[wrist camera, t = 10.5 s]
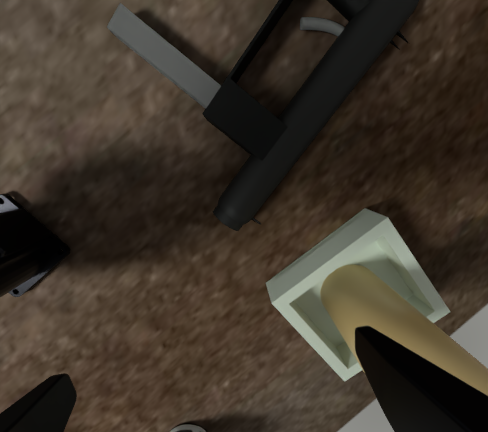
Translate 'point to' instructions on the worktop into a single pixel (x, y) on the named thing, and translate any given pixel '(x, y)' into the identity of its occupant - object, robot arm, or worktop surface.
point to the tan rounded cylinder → (394, 322)
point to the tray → (341, 254)
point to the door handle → (257, 116)
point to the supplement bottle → (188, 428)
